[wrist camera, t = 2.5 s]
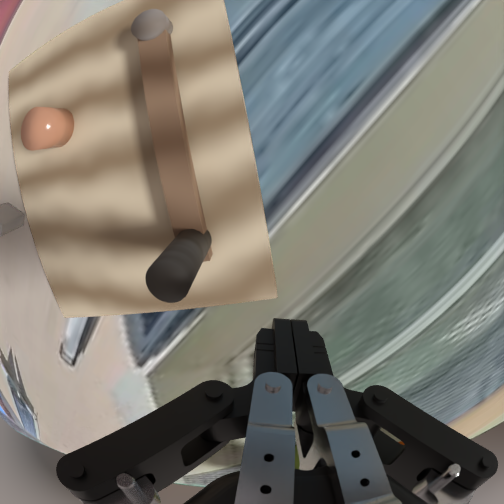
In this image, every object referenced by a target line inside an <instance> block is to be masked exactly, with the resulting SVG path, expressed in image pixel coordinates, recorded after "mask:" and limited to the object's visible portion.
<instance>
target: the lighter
mask: <svg viewBox="0 0 504 504" xmlns="http://www.w3.org/2000/svg"><path fill="white" fill-rule="evenodd" d="M24 216H25V215H24V213H22V212H21V211H19V210H18V209H16V208H15V207H14V206H12V205H11V204H9V203H5V204H3V205H0V237H1V236H3V235H5V234H7V233H9V232H11V231H13V230H15V229H17V228H19V227H21V226H23V224H24Z"/></svg>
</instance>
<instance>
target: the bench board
mask: <svg viewBox="0 0 504 504" xmlns="http://www.w3.org/2000/svg"><path fill="white" fill-rule="evenodd" d="M150 9H158V10H161V11H162V12H163V13H164V14H165V15H166V16H167V17H168V19H169V20H170V21H171V22H172V25H173V31H172V33H171V41H172V48H173V55H174V61H175V67H176V74H177V80H178V86H179V91H180V97H181V103H182V109H183V114H184V120H185V125H186V130H187V136H188V141H189V146H190V151H191V156H192V161H193V166H194V171H195V176H196V180H197V185H198V190H199V195H200V199H201V204H202V208H203V213H204V217H205V222H206V226H207V230H208V231H209V232H210V235H211V238H212V243H211V248H212V252H213V255H212V257H211V259H210V261H205V262H203V263H202V265H201V267H200V269H199V271H198V273H197V275H196V277H195V279H194V281H193V283H192V286H191V288H190V290H189V292H188V294H187V295H186V297H185V298H184V299H182V300H181V301H179V302H175V303H167V302H163V301H161V300H159V299H157V298H156V297H154V296H153V295H152V294H151V292H150V291H149V289H148V287H147V285H146V280H145V277H146V272H147V270H148V268H149V267H150V266H151V265H152V263H153V262H154V261H155V260H156V259H157V258H158V257H159V255H160V254H161V253H162V252H163V251H164V250H165V249H166V247H167V246H168V245H169V244H170V243H171V242H172V241H173V240H174V238H175V236H174V233H173V229H172V225H171V221H170V217H169V213H168V209H167V204H166V200H165V196H164V192H163V187H162V183H161V178H160V174H159V169H158V164H157V159H156V155H155V150H154V144H153V139H152V134H151V128H150V123H149V117H148V111H147V105H146V99H145V93H144V86H143V79H142V72H141V64H140V56H139V48H138V39H137V38H136V37H135V36H133V34H132V32H131V25H132V23H133V21H134V19H135V18H136V17H137V16H138V15H139V14H141V13H142V12H144V11H146V10H150ZM34 107H52V108H64V109H68V110H69V111H70V112H71V113H72V115H73V118H74V130H73V134H72V136H71V138H70V140H69V141H68V142H67V143H66V144H65V145H64V146H62V147H58V148H49V149H41V150H33V151H31V150H28V149H26V148H25V147H24V145H23V143H22V140H21V127H22V123H23V120H24V118H25V116H26V114H27V113H28V112H29V111H30V110H31V109H32V108H34ZM9 110H10V125H11V135H12V144H13V151H14V158H15V164H16V170H17V176H18V181H19V186H20V191H21V195H22V199H23V204H24V208H25V211H26V215H27V219H28V223H29V226H30V230H31V233H32V236H33V239H34V243H35V246H36V249H37V252H38V255H39V257H40V260H41V263H42V266H43V268H44V271H45V274H46V276H47V279H48V281H49V284H50V286H51V289H52V291H53V293H54V296H55V298H56V300H57V303H58V305H59V307H60V309H61V311H62V314H63V316H64V318H72V317H92V316H109V315H123V314H136V313H149V312H160V311H171V310H181V309H191V308H200V307H209V306H218V305H226V304H234V303H242V302H250V301H257V300H265V299H272V298H278V297H277V287H276V280H275V274H274V268H273V261H272V255H271V249H270V243H269V237H268V231H267V225H266V219H265V213H264V207H263V201H262V195H261V190H260V184H259V178H258V173H257V167H256V161H255V156H254V150H253V145H252V139H251V134H250V128H249V123H248V118H247V112H246V107H245V102H244V97H243V91H242V86H241V81H240V76H239V71H238V66H237V61H236V56H235V51H234V46H233V41H232V36H231V31H230V27H229V22H228V17H227V12H226V8H225V3H224V0H124V1H122V2H119V3H117V4H115V5H113V6H110V7H108V8H106V9H104V10H102V11H100V12H98V13H96V14H94V15H92V16H90V17H88V18H87V19H85V20H83V21H81V22H79V23H78V24H76V25H74V26H72V27H71V28H69V29H67V30H66V31H64V32H62V33H61V34H59V35H58V36H56V37H55V38H53V39H52V40H50V41H49V42H47V43H46V44H44V45H43V46H41V47H40V48H38V49H37V50H36V51H34V52H33V53H32V54H30V55H29V56H28V57H26V58H25V59H24V60H22V61H21V62H20V63H19V64H17V65H16V66H15V67H14V68H13V69H11V70H10V71H9Z"/></svg>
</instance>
